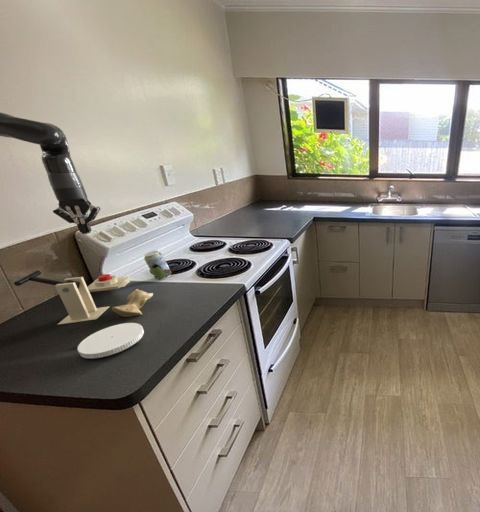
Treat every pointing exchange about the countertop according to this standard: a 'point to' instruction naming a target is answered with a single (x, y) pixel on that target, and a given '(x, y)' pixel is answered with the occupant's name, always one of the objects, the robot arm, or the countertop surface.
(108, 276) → the stop button
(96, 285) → the block
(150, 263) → the beverage can
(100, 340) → the plastic lid
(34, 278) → the lever
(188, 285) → the countertop surface
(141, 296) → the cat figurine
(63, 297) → the bracket
